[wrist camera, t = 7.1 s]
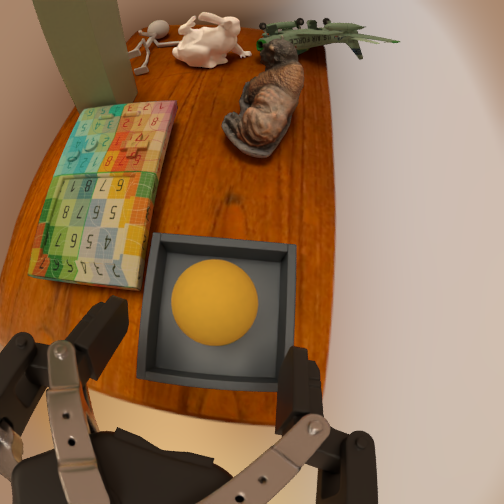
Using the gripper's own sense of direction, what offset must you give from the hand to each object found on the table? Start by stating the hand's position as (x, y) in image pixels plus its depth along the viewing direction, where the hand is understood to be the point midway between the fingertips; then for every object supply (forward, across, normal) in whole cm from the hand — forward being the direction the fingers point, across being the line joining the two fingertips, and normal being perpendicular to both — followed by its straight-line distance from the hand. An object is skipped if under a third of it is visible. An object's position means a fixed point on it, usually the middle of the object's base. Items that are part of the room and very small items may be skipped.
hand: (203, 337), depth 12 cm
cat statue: (+24, +1, -9) cm, 26 cm away
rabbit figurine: (+32, +11, -17) cm, 39 cm away
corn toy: (+8, 0, +6) cm, 10 cm away
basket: (+9, 0, +6) cm, 11 cm away
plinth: (+24, +22, -9) cm, 33 cm away
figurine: (+27, +20, -16) cm, 38 cm away
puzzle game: (+15, +14, 0) cm, 21 cm away
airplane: (+38, -4, -33) cm, 50 cm away
